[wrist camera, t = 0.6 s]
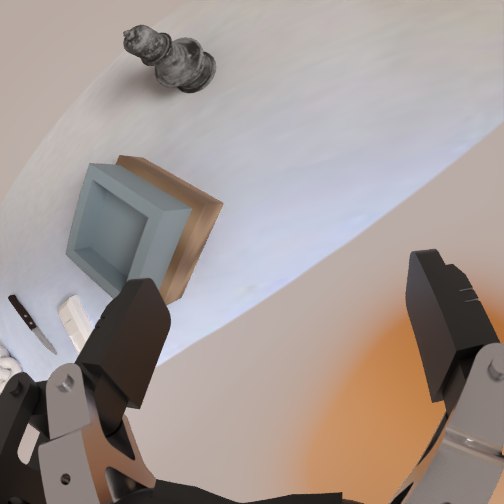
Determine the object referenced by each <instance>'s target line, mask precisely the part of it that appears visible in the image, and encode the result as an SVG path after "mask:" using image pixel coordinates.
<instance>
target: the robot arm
mask: <svg viewBox="0 0 504 504" xmlns="http://www.w3.org/2000/svg"><path fill="white" fill-rule="evenodd" d="M406 306H407V311H408V315H409V318H410V321H411V324H412V327H413V331H414V334H415V338H416V341H417V345H418V348H419V352H420V355H421V359H422V363H423V367H424V371H425V375H426V379H427V383H428V387H429V392H430V396H431V400H432V403H433V402H438V401H442V400H444V402H445V407H446V411H445V413H444V415H443V417H442V419H441V421H440V423H439V425H438V426H437V428H436V431H435V432H434V434H433V436H432V438H431V440H430V441H429V443H428V445H427V447H426V448H425V450H424V452H423V454H422V455H421V457H420V459H419V460H418V462H417V464H416V465H415V467H414V468H413V470H412V472H411V473H410V474H409V475H408V477H407V478H406V479H405V481H404V482H403V484H402V485H401V486H400V488H399V489H398V491H397V492H396V493H395V495H394V496H393V498H392V499H391V500H390V502H389V503H388V504H488V502H489V500H490V498H491V496H492V494H493V492H494V489H495V488H496V485H497V483H498V481H499V479H500V476H501V474H502V471H503V469H504V455H502V448H503V445H504V344H502V343H500V341H499V339H498V337H497V335H496V333H495V331H494V328H493V326H492V324H491V322H490V320H489V318H488V316H487V314H486V312H485V310H484V308H483V306H482V304H481V302H480V301H478V296H477V295H476V293H475V291H474V290H473V289H472V285H471V284H470V282H469V280H468V278H467V277H466V275H465V274H464V273H463V272H462V271H461V270H459V269H458V268H457V267H456V266H455V265H453V264H449V265H445V263H444V261H443V259H442V258H441V256H440V254H439V252H438V251H437V250H436V249H429V250H421V251H413V252H411V254H410V260H409V270H408V278H407V287H406ZM100 318H101V319H99V320H98V322H97V324H96V325H95V329H93V331H92V332H91V334H90V336H89V338H88V339H87V341H86V343H85V345H84V347H83V348H82V350H81V352H80V354H79V356H78V358H77V360H76V361H75V363H67V364H64V365H62V366H60V367H58V368H57V369H56V370H55V371H54V372H53V373H52V374H51V376H50V377H49V379H48V380H46V381H41V382H35V381H34V380H33V379H32V378H31V377H30V376H29V375H28V374H27V373H25V372H19V373H17V374H15V375H14V376H12V377H11V378H10V379H9V380H8V382H7V383H6V385H5V387H4V389H3V391H2V393H1V395H0V504H364V503H360V502H356V501H353V500H346V499H342V492H340V493H325V494H292V495H287V496H282V497H277V498H272V499H267V500H261V501H255V502H248V503H238V502H235V501H232V500H229V499H226V498H223V497H221V496H218V495H215V494H213V493H210V492H208V491H205V490H203V489H200V488H198V487H195V486H188V485H182V484H177V483H172V482H167V481H163V480H158V479H156V478H155V477H154V475H153V474H152V473H151V472H150V471H149V470H148V468H147V467H146V466H145V464H144V462H143V460H142V457H141V454H140V452H139V449H138V446H137V444H136V441H135V438H134V436H133V433H132V430H131V427H130V424H129V421H128V418H127V417H126V415H125V414H124V412H125V409H126V407H129V408H135V409H140V407H141V405H142V402H143V399H144V396H145V394H146V391H147V388H148V385H149V383H150V380H151V377H152V374H153V372H154V369H155V366H156V364H157V361H158V358H159V356H160V353H161V351H162V348H163V345H164V343H165V340H166V338H167V335H168V332H169V330H170V326H171V317H170V313H169V310H168V308H167V306H166V304H165V302H164V300H163V298H162V296H161V294H160V292H159V290H158V288H157V286H156V284H155V282H154V281H153V280H152V279H151V278H140V279H130V280H128V281H127V282H126V284H125V285H124V287H123V288H122V290H121V292H120V293H119V295H117V296H116V297H115V298H114V299H113V300H112V301H111V302H110V303H109V304H108V305H107V307H106V308H105V310H104V312H103V313H102V315H101V317H100ZM28 423H29V424H30V425H31V426H33V427H34V428H35V429H36V430H38V431H39V432H40V434H39V437H38V439H37V442H36V445H35V447H34V450H33V453H32V456H31V458H30V461H29V463H28V464H27V465H25V464H24V463H22V462H21V461H20V459H19V457H18V454H17V451H18V447H19V444H20V442H21V439H22V437H23V434H24V432H25V429H26V426H27V424H28Z"/></svg>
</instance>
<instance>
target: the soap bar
mask: <svg viewBox="0 0 504 504" xmlns="http://www.w3.org/2000/svg"><path fill="white" fill-rule="evenodd" d="M58 314H59V317H60V319H61V321H62V323H63V325H64V327H65V329H66V331H67V333H68V335H69V336H70V338H71V340H72V342H73V344H74V346H75V348H76V350H77V351H78V353H79V354H80V352H81V350H82V348H83V347H84V345H85V343H86V341H87V339H88V338H89V336H90V334H91V332H92V331H93V329H94V328H93V326H92V324H91V322H90V320H89V318H88V316H87V315H86V313H85V311H84V309H83V307H82V305H81V302H80V300H79V298H78V296H77V295H74V296H72V297H70V298H68V299H67V300H66V301H65V302H64V303H63V304H62V305H61V306H60V307H59V308H58Z"/></svg>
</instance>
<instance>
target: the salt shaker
mask: <svg viewBox="0 0 504 504" xmlns="http://www.w3.org/2000/svg"><path fill="white" fill-rule="evenodd" d="M123 33H124V37H125V38H124V48H125V50H126V51H127V52H129V53H131V54H133V55H135V56H137V57H139V58H141V60H142V62H143V63H144V64H145V65H147V66H155V76H156V79H157V80H158V81H159V83H160V84H162V85H164V86H167V87H178V88H179V89H180V90H181V91H183V92H186V93H194V92H197V91H200V90H202V89H203V88H205V87H206V86H207V85H208V84H209V83H210V82H211V80H212V79H213V77H214V74H215V71H216V63H215V60H214V58H213V57H212V56H211V55H210V54H209V53H207V52H203V49H202V47H201V45H200V43H199V42H197V41H196V40H194V39H192V38H180V39H177V40H175V41H172V39H171V37H170V36H169V35H168V34H166V33H158V32H156V31H154V30H153V29H151V28H149V27H148V26H145V25H139V26H135V27H133V28H132V29H131V30H130V31H129V30H127V31H124V32H123Z"/></svg>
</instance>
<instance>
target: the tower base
mask: <svg viewBox="0 0 504 504" xmlns="http://www.w3.org/2000/svg"><path fill="white" fill-rule="evenodd" d="M116 165H121V166H122V167H124V168H126V169H127V170H129V171H131V172H133V173H134V174H136V175H138V176H139V177H141V178H143V179H144V180H146V181H148V182H149V183H151V184H153V185H154V186H156V187H158V188H159V189H161V190H163V191H164V192H166V193H168V194H169V195H171V196H173V197H174V198H176V199H178V200H179V201H181V202H183V203H184V204H186V205H187V206H189V207H191V208H192V211H191V213H190V216H189V218H188V220H187V223H186V225H185V227H184V230H183V232H182V234H181V237H180V239H179V242H178V244H177V247H176V249H175V251H174V254H173V256H172V259H171V261H170V264H169V266H168V269H167V272H166V274H165V277H164V279H163V282H162V284H161V287H160V290H159V292H160V294H161V296H162V298H163V300H164V302H165V304H166V306H167V305H168V304H170V303H172V302H174V301H176V300H178V299H180V298H181V297H182V295H183V293H184V290H185V288H186V286H187V284H188V281H189V279H190V277H191V274H192V272H193V270H194V268H195V265H196V263H197V261H198V259H199V256H200V254H201V252H202V250H203V248H204V245H205V243H206V241H207V239H208V237H209V234H210V232H211V230H212V228H213V226H214V224H215V221H216V219H217V217H218V215H219V213H220V211H221V209H222V206H223V204H224V203H222V202H220V201H219V200H217V199H215V198H213V197H212V196H210V195H208V194H206V193H205V192H203V191H201V190H199V189H198V188H196V187H194V186H192V185H191V184H189V183H187V182H185V181H184V180H182V179H180V178H178V177H176V176H175V175H173V174H171V173H169V172H167V171H166V170H164V169H162V168H160V167H158V166H157V165H155V164H153V163H151V162H149V161H148V160H146V159H144V158H140V157H131V156H122V155H119V158H118V161H117V163H116Z"/></svg>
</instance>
